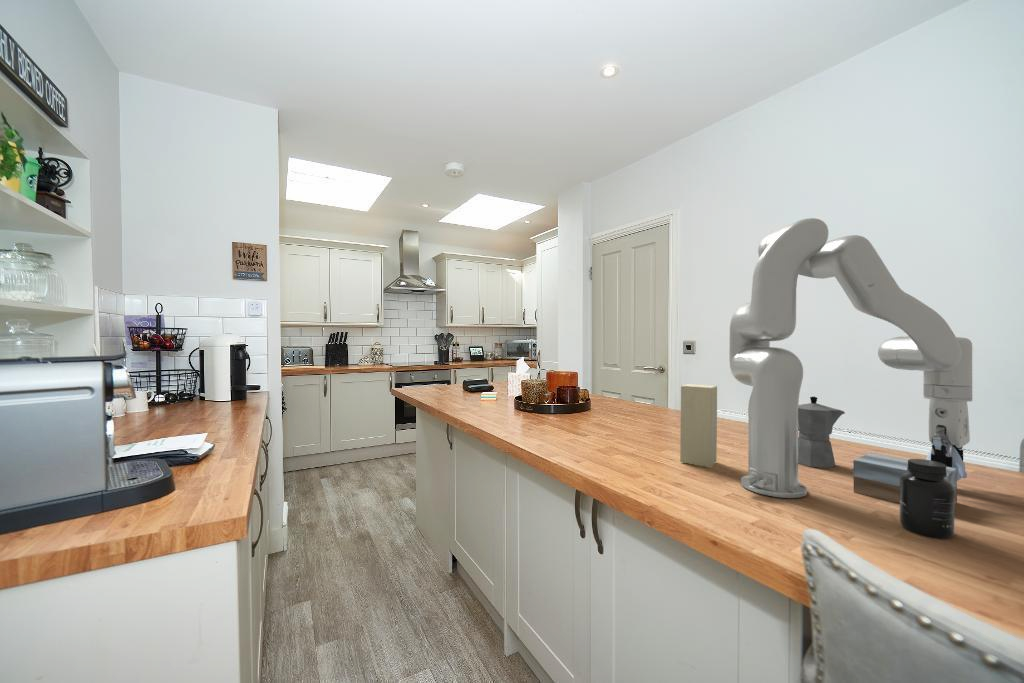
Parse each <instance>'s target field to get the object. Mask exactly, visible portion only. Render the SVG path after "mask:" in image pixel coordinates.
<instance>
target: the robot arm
mask: <svg viewBox="0 0 1024 683" xmlns="http://www.w3.org/2000/svg"><path fill="white" fill-rule="evenodd" d="M828 239H829V228H828V225H827V224H826V222H825V221H824V220H822V219H819V218H812V217H810V218H803V219H800V220H797V221H794V222H793V223H790V224H788V225H786V226H784V227H782V228H780V229H777V230H775V231H772V232H770V233H769V234H766V236H765V237H764V238H762V240H761V241H760V242H759V244H758V248H757V253H758V257H759V258H758V260H757V262H756V265H755V267H754V270H753V275H752V284H751V296H750V297H751V298H750V302H747V303H745V304H742V305H740V306H739V307H738V308H737V309H736V310H735V311H734V312H733V314H732V316H731V319H730V323H729V368H730V373H731V374H732V376H733V377H734V379H735V380H736V381H737V382H740V384H743V385H746V386H750V387H752V389H751V393H750V396H749V399H748V408H747V415H748V417H747V418H748V419H747V421H748V423H747V424H748V425H747V426H748V427H747V429H748V432H747V433H748V435H747V437H748V438H747V439H748V440H747V441H748V442H747V444H748V450H747V451H748V454H747V455H748V467H747V468H748V474H746V475H744V476H742V477H741V478H740V484H741V486H742V487H743V488H744V489H747V490H749V491H751V492H754V493H756V494H760V495H763V496H764V495H765V496H768V497H775V498H781V499H797V498H798V499H799V498H802V497H803V498H804V497H805V496H807V494H808V488H807V486H806V485H804V484H803V483H802V482H799V464H798V437H799V431H798V405H799V401H800V400H799V398H800V392H801V388H802V384H803V378H804V367H803V364H802V362H801V360H800V358H799V357H798V356H797V355H796V354H795V353H794V352H792V351H790V350H788V349H786V348H782V347H773V346H771V347H770V345H771V343H770V342H778V341H784V340H786V339H788V338H790V337H791V336H792V335H793V333H794V331H795V330H796V326H797V287H798V286H797V285H798V278H799V276H803V277H808V278H813V279H824V280H825V279H829V278H830V279H831V278H835V279H836V281H837V282H838V283H839V285H840V287H841V288H842V290H843V291H844V293H845V295H846V297H847V298H848V299H849V301H850V302H851V304H852V305H853V308H855V309H856V310H857V311H858V312H861V313H863V314H866V315H868V316H871V317H874V318H877V319H880V320H883V321H886V322H888V323H890V324H892V325H894V326H895V327H897V328H898V329H900V330H902V332H904V333H906V334H907V336H895V337H891V338H889V339H886V340H885V341H883V342H882V343H881V344H880V345H879V347H878V351H877V356H878V358H879V360H880V361H881V363H883V364H884V365H885V366H887V367H890V368H892V369H895V370H905V371H920V372H921V371H922V372H923V399H926V400H929V407H928V441H929V442H930V443H931V450H930V451H931V461H936V462H940V463H943V464H945V465H946V467H952V457H950V455H951V449H952V446H953V447H954V448H955V449H956V450H957V452H958V453H959V455H960V457H961V459H962V461H963V462H964V449H963V447H964V446H965V445H967V444H969V443H970V440H971V437H970V421H969V409H968V402H973V343H972V340H970V339H969V338H968V337H962V336H961V337H959V336H956V334H955V333H954V331H953V330H952V328H951V326H950V325H949V324H948V322H947V321H946V320H945V319H944V318H943V316H941V314H940V313H938V312H937V311H936V310H934V309H933V308H932V307H930V306H929V305H927V304H925V303H924V302H922V301H920V300H919V299H918V298H917V297H914V296H913V295H911V294H909V293H907V292H905V291H904V290H902V289H901V288H900V286H899V285H898V284H897V282H896V280H895V279H894V277H893V276H892V273H891V272H890V271H889V269H888V267H887V266H886V265H885V263H884V262H883V260H882V258H881V256H880V255H879V253H878V252H877V250H876V248H875V247H874V246H873V244H872V243H871V241H869V239H868V238H866V237H864V236H862V235H857V234H856V235H855V234H854V235H846V236H842V237H838V238H834V239H832V240H828ZM946 447H947V449H946Z"/></svg>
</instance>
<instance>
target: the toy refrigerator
mask: <svg viewBox="0 0 1024 683" xmlns="http://www.w3.org/2000/svg"><path fill="white" fill-rule="evenodd" d="M717 425H718V386H717V385H712V384H711V385H709V384H697V383H696V384H694V383H686V384H683V385H681V386H680V442H679V444H680V445H679V446H680V447H679V448H680V449H679V450H680V452H679V455H680V457H679V458H680V460H679V462H680V463H681V462H683V463H682V464H686V463H689V464H688V465H692V464H694V465H693V466H697V465H700V466H699V467H703V466H706V467H705V468H709V467H711V468H712V467H713V466H714V465H715V464H716V463H717V447H718V446H717V444H718V443H717V440H718V439H717V437H718V435H717V433H718V430H717V429H718V426H717ZM715 462H716V463H715Z"/></svg>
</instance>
